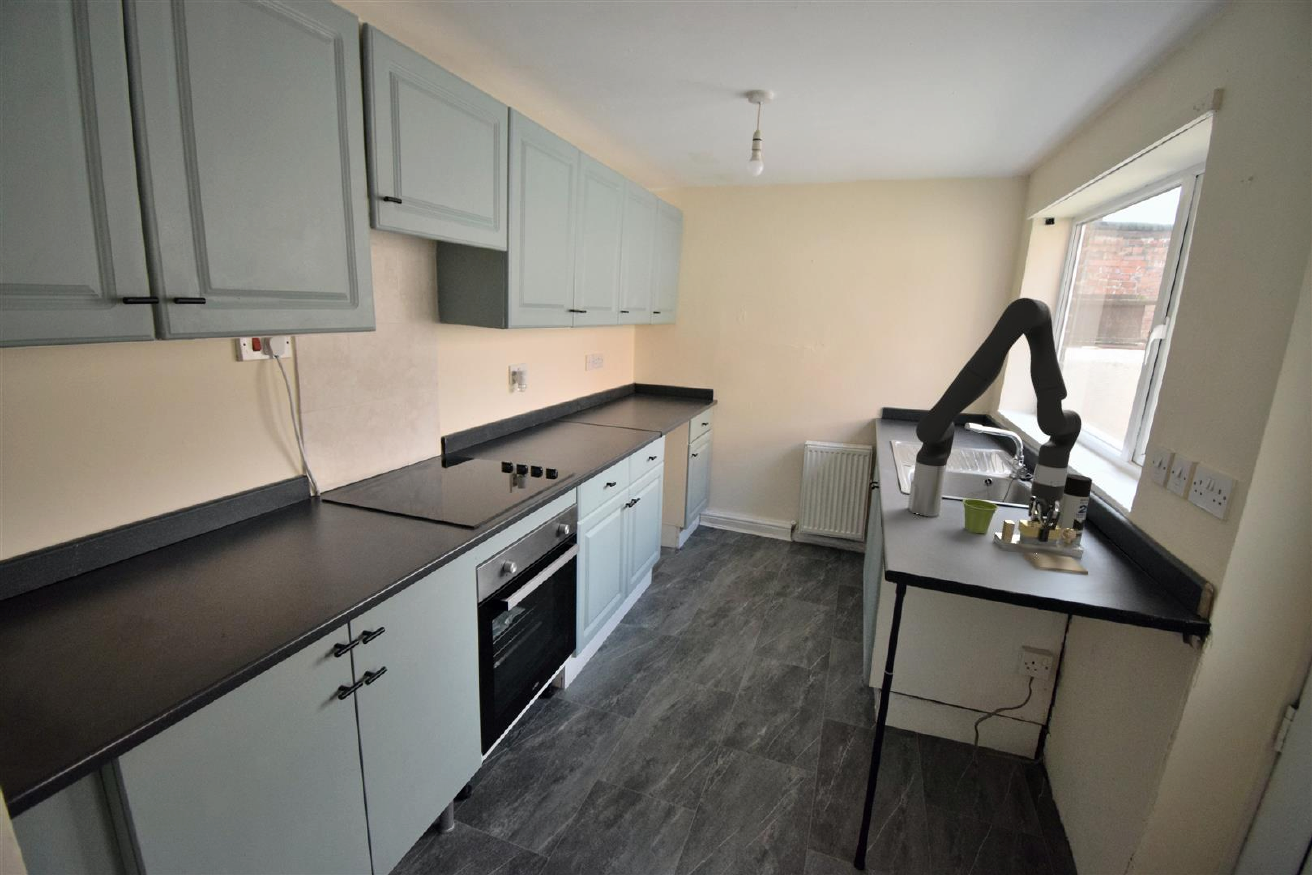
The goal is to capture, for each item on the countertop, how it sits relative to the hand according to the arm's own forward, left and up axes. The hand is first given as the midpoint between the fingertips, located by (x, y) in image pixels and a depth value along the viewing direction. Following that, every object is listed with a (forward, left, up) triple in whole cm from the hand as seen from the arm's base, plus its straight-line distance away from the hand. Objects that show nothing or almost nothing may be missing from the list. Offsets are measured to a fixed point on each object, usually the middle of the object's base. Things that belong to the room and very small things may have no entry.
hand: (1038, 537), depth 160 cm
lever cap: (0, 0, +1) cm, 1 cm away
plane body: (0, 0, -4) cm, 4 cm away
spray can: (+11, +9, -4) cm, 15 cm away
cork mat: (0, -10, -4) cm, 11 cm away
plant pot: (-13, +11, -4) cm, 17 cm away
